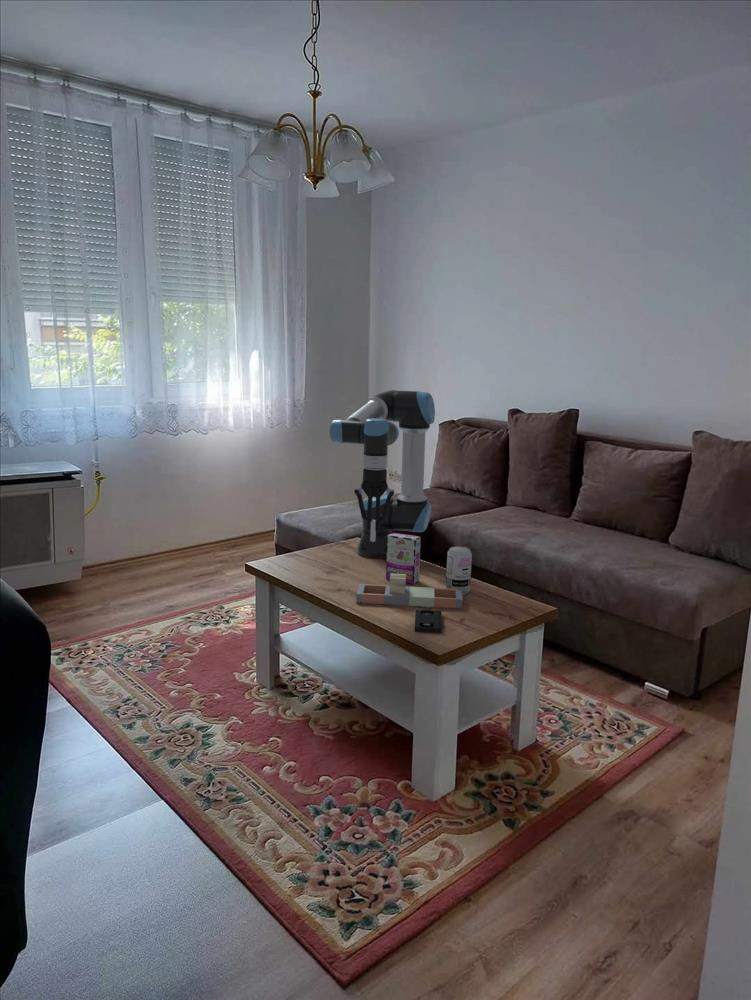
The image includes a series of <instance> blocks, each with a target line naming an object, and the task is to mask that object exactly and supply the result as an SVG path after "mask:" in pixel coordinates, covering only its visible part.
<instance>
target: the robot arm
mask: <svg viewBox="0 0 751 1000" xmlns="http://www.w3.org/2000/svg"><path fill="white" fill-rule="evenodd" d="M435 416H436V408H435V402H434V398H433V396H432V395H431V394H430V393H429V392H428V391H427V392H426V391H420V390H419V391H418V390H417V391H416V390H414V391H413V390H394V389H393V390H386V391H383V392H379V393H377V394H374V395H373V396H371V397H369V398H368V399H366V400H365V402H364V403H363V406H361V407H360V408H359V409H358V410H356V411H354V412H353V413H352V414H351V415H350V416H348V417H347V418H346V419H344V420H343V419H334V420H332V421H331V422H330V426H329V437H330V440H331V441H332V442H334V443H338V444H339V443H340V444H349V445H350V444H353V445H363V460H362V463H363V466H362V467H363V469H362V482H361V484H360V486H359V487H358V488H357V487H356V488H355V489H354V494H355V496H356V497H357V501H358V506H359V511H360V515H361V519H362V521H361V522H362V524H361V525H362V527H361V529H362V531H361V532H362V533H361V536H360V539H359V542H358V545H357V551H356V552H357V554H358V555H359V556H361V557H364V558H368V559H387V535H389V534H391V533H393V532H392V531H393V530H394V531H403V532H412V533H422V532H425V530H426V529H427V528H428V525H429V522H430V518H431V514H432V503H430V502H428V497H427V496H426V495H425V494H424V481H425V480H424V479H425V457H426V455H425V453H426V432H427V431H428V430H430V427H431V425H432V424H434V422H435V418H436V417H435ZM393 422H394V423H393ZM395 422H397V423H398V426H397V425H396V424H395ZM399 429H400V430H401V432H402V445H401V447H402V449H401V450H402V451H401V481H400V482H401V483H400V489H401V490H400V493H399V495H397V496H396V499H394V497H393V496H394V494H395V490H394V489H391V488H390V487H389V485H388V482H387V475H388V470H387V469H386V468H387V467H388V452H389V451H388V446H391V445H393V444H394V443H395V442H396V441H397V440H398V438H399V435H400V433H399V432H400V431H399ZM363 492H364V493H365V495H366V496H367V497H366V498H365V499H364V498H363V495H362V494H363ZM385 492H386V494H385Z"/></svg>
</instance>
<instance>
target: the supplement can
mask: <svg viewBox="0 0 751 1000" xmlns="http://www.w3.org/2000/svg"><path fill="white" fill-rule="evenodd" d="M446 555H447V557H446V576H445V588H447V589H462V596H464V595H467V594H468V593H469V592H470V590H471V576H472V574H471V573H472V561H473V559H472V557H473V553H472V551H471V549H470V548H468V547H467V546H459V545H457V546H451V547H449V549H448V550H447V554H446Z"/></svg>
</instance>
